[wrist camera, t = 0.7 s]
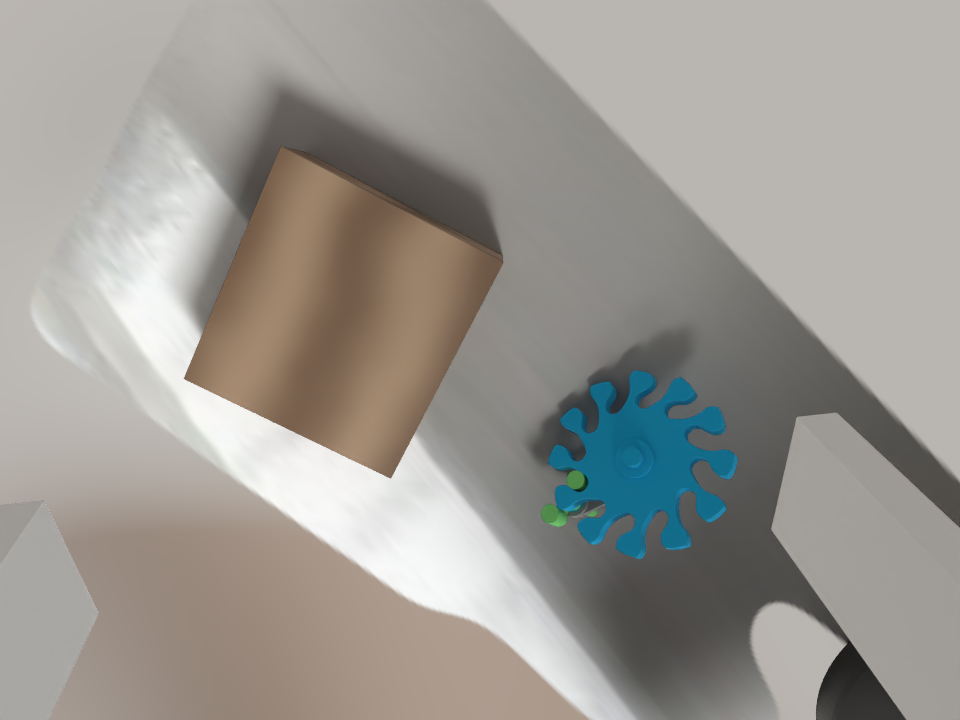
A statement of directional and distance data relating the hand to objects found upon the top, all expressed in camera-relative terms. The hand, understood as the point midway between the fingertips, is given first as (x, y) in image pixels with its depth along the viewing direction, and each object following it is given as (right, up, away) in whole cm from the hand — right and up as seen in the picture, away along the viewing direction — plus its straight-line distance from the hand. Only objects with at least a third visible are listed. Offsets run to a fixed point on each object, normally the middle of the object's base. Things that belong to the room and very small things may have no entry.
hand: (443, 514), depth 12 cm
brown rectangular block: (-6, +6, +25) cm, 27 cm away
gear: (+9, -2, +27) cm, 29 cm away
